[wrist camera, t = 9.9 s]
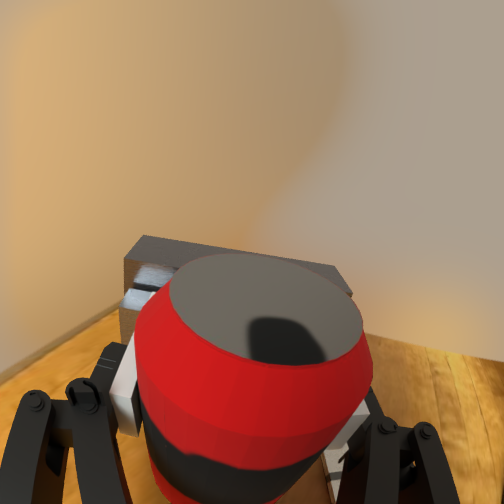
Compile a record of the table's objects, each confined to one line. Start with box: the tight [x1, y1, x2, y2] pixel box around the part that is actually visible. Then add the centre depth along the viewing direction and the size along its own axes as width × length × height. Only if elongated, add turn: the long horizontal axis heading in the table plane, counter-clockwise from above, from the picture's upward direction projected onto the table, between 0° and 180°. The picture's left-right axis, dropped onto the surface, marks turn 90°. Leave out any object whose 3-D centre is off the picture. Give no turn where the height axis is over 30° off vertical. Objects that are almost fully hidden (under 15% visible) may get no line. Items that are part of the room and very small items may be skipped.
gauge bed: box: [124, 235, 353, 504], centre depth 15 cm, size 17×16×10 cm
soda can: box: [134, 254, 373, 504], centre depth 10 cm, size 8×8×12 cm
